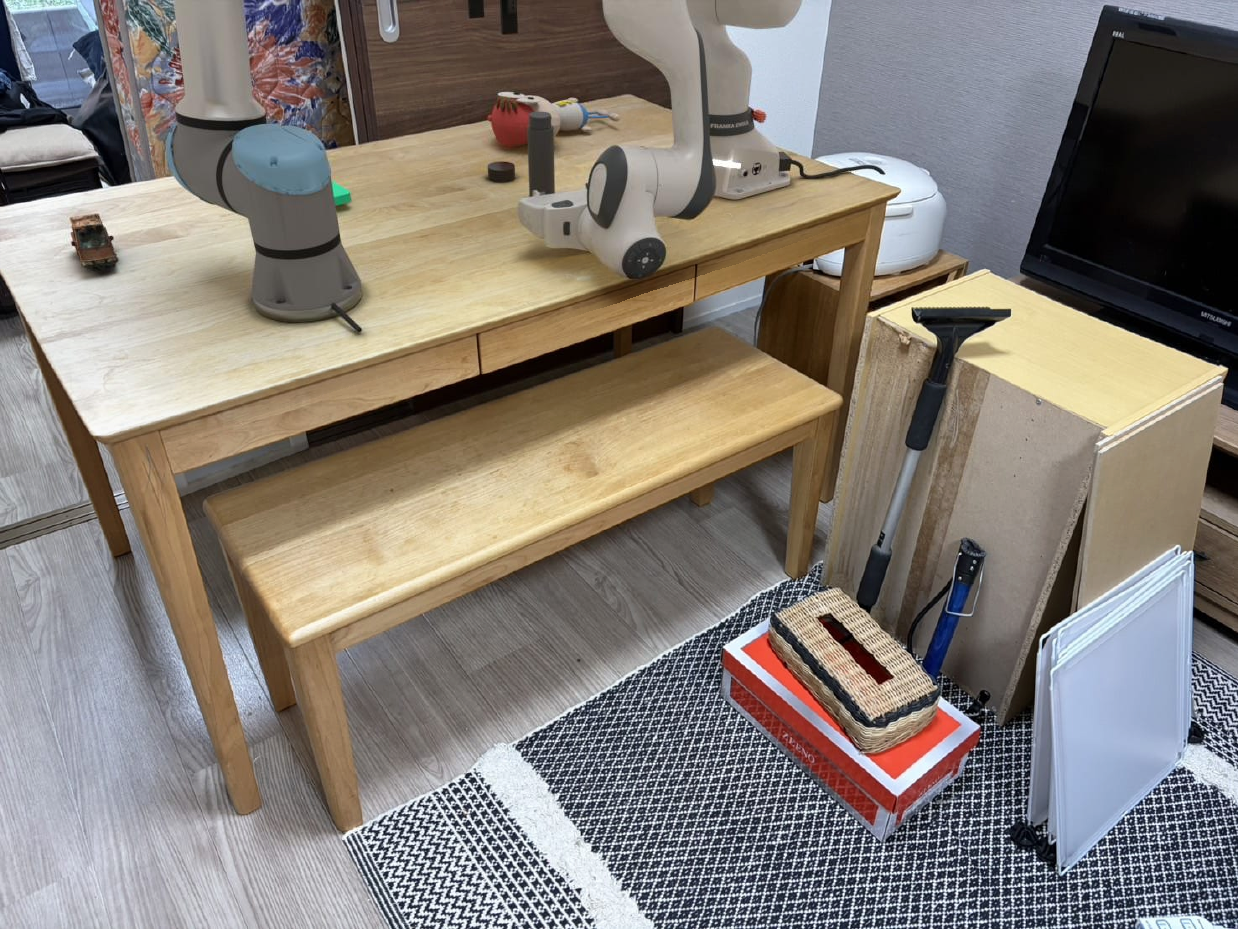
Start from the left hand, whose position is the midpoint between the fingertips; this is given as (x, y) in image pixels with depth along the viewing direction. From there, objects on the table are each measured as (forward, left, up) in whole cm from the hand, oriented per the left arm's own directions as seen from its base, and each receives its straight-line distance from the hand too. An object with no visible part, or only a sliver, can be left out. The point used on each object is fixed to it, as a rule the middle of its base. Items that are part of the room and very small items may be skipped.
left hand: (492, 25), depth 160 cm
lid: (0, 0, -25) cm, 25 cm away
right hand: (-28, +1, -20) cm, 34 cm away
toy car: (-6, +71, -27) cm, 76 cm away
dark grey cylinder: (-18, 0, -27) cm, 32 cm away
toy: (+18, -20, -27) cm, 38 cm away
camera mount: (+3, +34, -27) cm, 43 cm away
